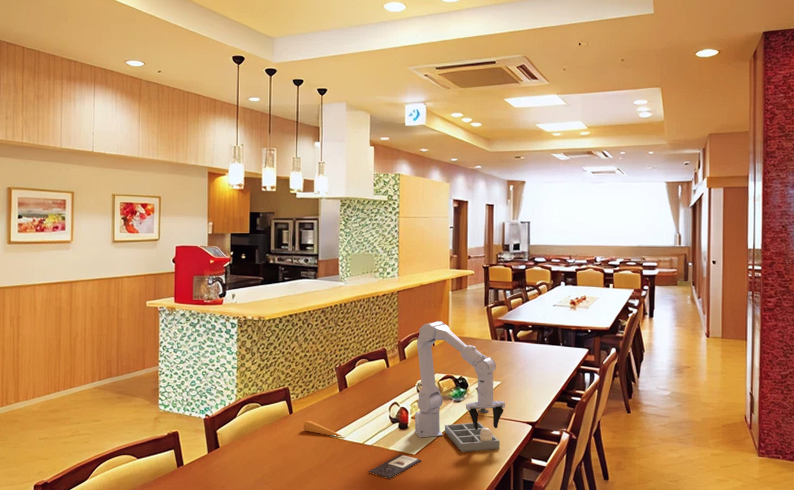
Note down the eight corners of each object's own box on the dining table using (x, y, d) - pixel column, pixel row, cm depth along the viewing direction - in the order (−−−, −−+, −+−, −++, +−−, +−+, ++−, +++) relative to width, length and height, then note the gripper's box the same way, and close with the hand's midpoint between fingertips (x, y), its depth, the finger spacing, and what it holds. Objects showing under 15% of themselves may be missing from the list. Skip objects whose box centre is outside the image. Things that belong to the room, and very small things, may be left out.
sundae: (479, 414, 254) (479, 380, 254) (473, 409, 260) (473, 376, 260) (493, 412, 256) (493, 378, 255) (486, 408, 262) (486, 375, 262)
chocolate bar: (368, 471, 193) (400, 454, 208) (368, 474, 193) (400, 457, 208) (390, 477, 188) (421, 459, 202) (390, 480, 188) (421, 462, 202)
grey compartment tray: (461, 452, 211) (461, 443, 210) (444, 432, 231) (444, 425, 231) (499, 448, 213) (499, 440, 213) (479, 429, 234) (479, 422, 234)
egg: (482, 447, 214) (482, 430, 214) (478, 443, 218) (478, 426, 218) (494, 446, 215) (493, 429, 215) (489, 442, 219) (489, 425, 219)
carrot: (302, 433, 235) (300, 424, 233) (309, 425, 239) (307, 417, 237) (343, 446, 225) (341, 437, 224) (350, 438, 229) (348, 429, 227)
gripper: (470, 395, 211) (470, 433, 211) (508, 393, 214) (508, 429, 214) (464, 390, 217) (464, 426, 218) (500, 387, 220) (500, 423, 221)
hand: (485, 427), depth 216 cm, fingers open, 7 cm apart
